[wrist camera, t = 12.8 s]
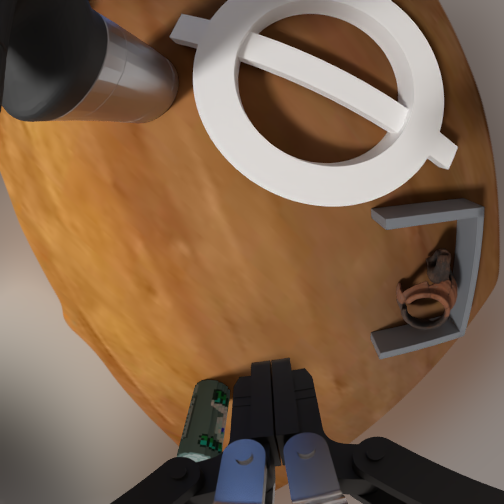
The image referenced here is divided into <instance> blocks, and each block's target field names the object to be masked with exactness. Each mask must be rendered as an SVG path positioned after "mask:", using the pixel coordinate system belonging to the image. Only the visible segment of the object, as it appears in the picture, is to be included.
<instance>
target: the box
mask: <svg viewBox="0 0 504 504" xmlns="http://www.w3.org/2000/svg"><path fill="white" fill-rule="evenodd" d="M371 215H372V219H374V220H375V221H376V222H377V223H378V224H380V225H381V226H382V227H383V228H384V229H386V230H389V229H396V228H403V227H410V226H417V225H424V224H431V223H438V222H445V221H452V220H457V234H456V248H455V258H454V267H453V276H454V278H455V280H456V283H457V288H458V292H457V299H456V303H455V305H454V306H453V308H452V309H451V310H450V314H449V317H448V319H447V321H446V322H445V323H444V324H442V325H441V326H439V327H437V328H434V329H429V330H423V329H418V328H415V327H412V326H411V325H410V324H407V325H403V326H399V327H394V328H390V329H385V330H381V331H376V332H371V341H372V343H373V345H374V347H375V350H376V352H377V354H378V357H379V359H383V358H387V357H392V356H396V355H400V354H404V353H408V352H411V351H415V350H419V349H422V348H426V347H429V346H433V345H436V344H440V343H443V342H446V341H449V340H452V339H456V338H459V337H461V336H464V334H465V330H466V327H467V323H468V319H469V314H470V310H471V306H472V301H473V296H474V291H475V286H476V280H477V274H478V268H479V261H480V253H481V244H482V234H483V222H484V207H483V206H481V205H478V204H476V203H474V202H471V201H469V200H467V199H464V198H462V199H452V200H442V201H433V202H424V203H415V204H406V205H398V206H389V207H381V208H373V209H371ZM439 317H440V316H439ZM439 317H435V318H431V319H429V320H431V321H433V320H436V319H437V318H439Z"/></svg>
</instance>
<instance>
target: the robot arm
mask: <svg viewBox="0 0 504 504" xmlns="http://www.w3.org/2000/svg"><path fill="white" fill-rule="evenodd" d="M178 86H179V80H178V74H177V71H176V69H175V67H174V65H173V64H172V63H171V62H170V61H169V60H168V59H167V58H165V57H164V56H162V55H161V54H160V53H158V52H157V51H156V50H154V49H153V48H151V47H150V46H149V45H147V44H146V43H144V42H143V41H141V40H140V39H138V38H137V37H136V36H134V35H133V34H131V33H130V32H128V31H126V30H125V29H123V28H122V27H120V26H119V25H117V24H116V23H114V22H112V21H111V20H109V19H107V18H106V17H104V16H103V15H101V14H99V13H98V12H96V11H95V10H93V9H91V6H90V4H89V1H88V0H0V112H1V106H3V107H4V109H5V110H6V111H7V112H8V113H9V114H10V115H11V116H13V117H14V118H16V119H19V120H22V121H31V122H34V121H67V120H84V121H114V122H128V123H146V122H149V121H152V120H154V119H156V118H158V117H160V116H161V115H162V114H163V113H165V112H166V111H167V110H168V108H169V107H170V106H171V105H172V103H173V101H174V100H175V97H176V94H177V92H178ZM271 363H272V367H271ZM232 407H233V408H232V418H231V432H230V442H229V444H228V446H227V447H226V448H225V450H224V451H223V452H222V453H221V454H219V455H218V456H216V457H213V458H210V459H206V460H203V461H199V462H195V461H194V460H192V459H190V458H187V457H175V458H172V459H170V460H168V461H167V462H165V463H164V464H163V465H162V466H160V467H159V468H158V469H157V470H155V471H154V472H153V473H151V474H150V475H149V476H148V477H146V478H145V479H144V480H142V481H141V482H140V483H138V484H137V485H136V486H134V487H133V488H132V489H130V490H129V491H127V492H126V493H125V494H123V495H122V496H121V497H119V498H118V499H116V500H115V501H113V502H112V503H111V504H274V497H275V466H281V459H282V463H283V465H286V471H287V477H288V483H289V489H290V494H291V500H292V504H348V503H347V500H346V498H345V496H344V495H343V494H350V495H351V496H352V497H354V498H355V499H357V500H358V501H360V502H361V503H363V504H504V491H502V490H500V489H497V488H494V487H491V486H489V485H486V484H484V483H481V482H478V481H476V480H473V479H471V478H469V477H466V476H463V475H461V474H459V473H457V472H454V471H452V470H450V469H448V468H445V467H443V466H441V465H439V464H437V463H434V462H432V461H430V460H428V459H426V458H424V457H422V456H420V455H418V454H416V453H414V452H412V451H410V450H408V449H406V448H404V447H402V446H400V445H398V444H396V443H394V442H393V441H391V440H389V439H386V438H383V437H371V438H368V439H365V440H364V441H362V442H361V443H360V444H342V443H338V442H335V441H332V440H331V439H329V438H328V437H327V436H326V435H325V433H324V431H323V428H322V423H321V418H320V413H319V408H318V403H317V398H316V393H315V389H314V383H313V379H312V376H311V375H310V374H309V373H308V371H307V370H306V369H305V368H304V369H298V370H291V364H290V358H284V359H277V360H271V362H270V361H263V362H254V363H252V364H251V376H244V377H239V379H238V381H237V382H236V384H235V386H234V391H233V405H232Z"/></svg>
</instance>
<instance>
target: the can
mask: <svg viewBox="0 0 504 504" xmlns="http://www.w3.org/2000/svg"><path fill="white" fill-rule="evenodd" d="M229 398H230V390H228V386H225V385H223V383H219V382H218V381H215V380H207V379H206V381H203V380H202V381H201V382H199V383H197V386H196V385H195V388H194V392H193V396H192V400H191V403H190V407H189V411H188V415H187V418H186V422H185V426H184V430H183V434H182V438H181V441H180V445H179V449H178V453H177V457H187V458H190V459H192V460H194V461H195V462H199V461H203V460H206V459H210V458H213V457H216V456H218V455H219V454H221V453H222V447H223V440H224V433H225V426H226V419H227V412H228V405H229Z"/></svg>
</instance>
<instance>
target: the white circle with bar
mask: <svg viewBox="0 0 504 504" xmlns="http://www.w3.org/2000/svg"><path fill="white" fill-rule="evenodd" d="M300 14H321V15H328V16H332V17H336V18H339V19H342V20H344V21H347V22H349V23H351V24H353V25H355V26H356V27H358V28H360V29H361V30H362V31H364V32H365V33H366V34H368V35H369V36H370V37H371V38H372V39H373V40H374V41H375V42H376V43H377V44H378V45H379V46H380V47H381V49H382V50H383V51H384V53H385V54H386V56H387V58H388V59H389V61H390V63H391V65H392V68H393V70H394V73H395V76H396V80H397V86H398V102H397V101H395V100H393V99H392V98H390V97H389V96H387V95H386V94H384V93H382V92H381V91H379V90H377V89H376V88H374V87H372V86H371V85H369V84H367V83H365V82H364V81H362V80H360V79H358V78H356V77H355V76H353V75H351V74H349V73H347V72H345V71H343V70H341V69H339V68H337V67H335V66H333V65H331V64H329V63H327V62H325V61H323V60H321V59H319V58H317V57H314V56H312V55H310V54H308V53H305V52H303V51H301V50H298V49H296V48H294V47H291V46H289V45H286V44H284V43H281V42H278V41H276V40H273V39H270V38H267V37H265V36H262V35H259V33H260V32H261V31H262V30H263V29H265V28H266V27H267V26H269V25H271V24H272V23H274V22H276V21H278V20H281V19H283V18H286V17H290V16H294V15H300ZM170 38H171V39H172V40H173V41H174V42H175V43H176V44H181V45H185V46H189V47H193V48H196V49H197V50H196V54H195V59H194V66H193V89H194V96H195V101H196V105H197V108H198V112H199V115H200V117H201V120H202V122H203V125H204V127H205V129H206V131H207V133H208V134H209V136H210V138H211V139H212V141H213V142H214V144H215V145H216V147H217V148H218V149H219V151H220V152H221V153H222V154H223V156H224V157H225V158H226V159H227V160H228V161H229V162H230V163H231V164H232V165H233V166H234V167H235V168H236V169H237V170H238V171H240V172H241V173H242V174H243V175H244V176H246V177H247V178H248V179H250V180H251V181H253V182H254V183H256V184H257V185H259V186H261V187H263V188H264V189H266V190H268V191H270V192H272V193H274V194H277V195H279V196H281V197H284V198H287V199H290V200H293V201H297V202H300V203H305V204H310V205H317V206H348V205H355V204H360V203H364V202H368V201H371V200H374V199H377V198H379V197H382V196H384V195H386V194H388V193H390V192H392V191H393V190H395V189H397V188H398V187H400V186H401V185H402V184H404V183H405V182H406V181H408V180H409V179H410V178H411V177H412V176H413V175H414V174H415V173H416V172H417V171H418V170H419V169H420V167H421V166H422V165H423V164H424V162H425V161H426V160H427V159H429V160H430V161H431V162H433V163H434V164H436V165H437V166H438V167H441V168H445V169H449V167H450V165H451V163H452V160H453V158H454V155H455V153H456V150H457V148H458V147H457V146H456V145H455V144H454V143H453V142H451V141H450V140H449V139H448V138H446V137H445V136H444V135H443V134H441V133H440V129H441V125H442V119H443V112H444V91H443V83H442V78H441V73H440V70H439V66H438V63H437V61H436V58H435V56H434V53H433V51H432V49H431V47H430V45H429V43H428V42H427V40H426V38H425V37H424V35H423V34H422V32H421V31H420V29H419V28H418V27H417V25H416V24H415V23H414V22H413V21H412V19H411V18H410V17H409V16H408V15H407V14H406V13H405V12H404V11H403V10H402V9H401V8H399V7H398V6H397V5H396V4H395V3H393V2H392V1H391V0H228V1H227V2H226V3H224V4H223V5H222V6H221V7H220V9H219V10H218V11H217V12H216V13H215V14H214V16H213V17H212V18H211V20H207V19H203V18H199V17H194V16H190V15H185V14H181V16H180V18H179V20H178V22H177V24H176V25H175V27H174V29H173V31H172V33H171V35H170ZM241 62H243V63H246V64H249V65H252V66H255V67H257V68H260V69H263V70H265V71H268V72H270V73H273V74H275V75H278V76H280V77H283V78H285V79H288V80H290V81H292V82H295V83H297V84H299V85H301V86H304V87H306V88H308V89H310V90H312V91H314V92H316V93H319V94H321V95H323V96H325V97H327V98H329V99H331V100H333V101H335V102H337V103H339V104H340V105H342V106H344V107H346V108H348V109H350V110H352V111H354V112H355V113H357V114H359V115H361V116H362V117H364V118H366V119H368V120H369V121H371V122H373V123H374V124H376V125H378V126H379V127H381V128H383V129H384V130H386V131H388V132H387V134H386V135H385V136H384V138H383V139H382V140H381V141H380V142H379V143H378V144H377V145H376V146H375V147H373V148H372V149H371V150H369V151H368V152H366V153H365V154H363V155H361V156H359V157H356V158H354V159H351V160H347V161H343V162H337V163H316V162H310V161H305V160H302V159H298V158H296V157H293V156H291V155H288V154H286V153H284V152H283V151H281V150H279V149H278V148H276V147H275V146H273V145H272V144H271V143H269V142H268V141H267V140H266V139H265V138H264V137H263V136H262V135H261V134H260V133H259V132H258V131H257V130H256V129H255V127H254V126H253V125H252V123H251V122H250V120H249V118H248V117H247V115H246V113H245V110H244V108H243V106H242V102H241V99H240V95H239V88H238V74H239V68H240V63H241Z"/></svg>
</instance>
